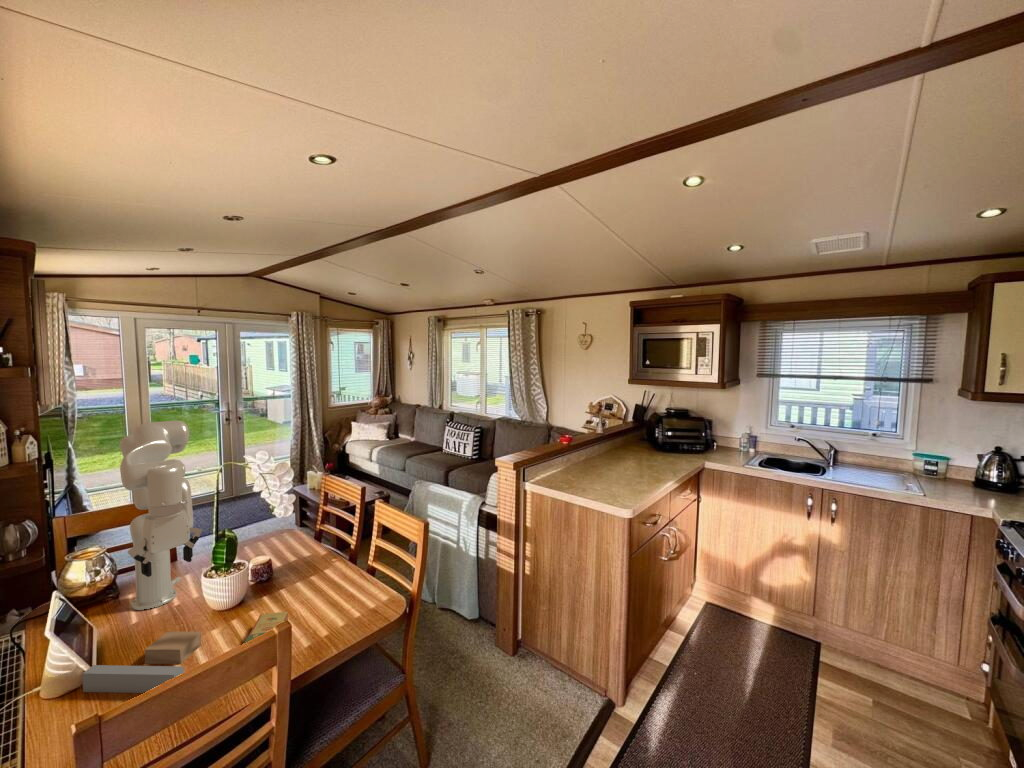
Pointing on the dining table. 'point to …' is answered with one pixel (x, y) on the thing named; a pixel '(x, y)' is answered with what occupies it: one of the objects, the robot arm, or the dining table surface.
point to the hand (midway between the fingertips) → (168, 567)
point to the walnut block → (172, 647)
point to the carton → (266, 623)
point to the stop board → (127, 678)
